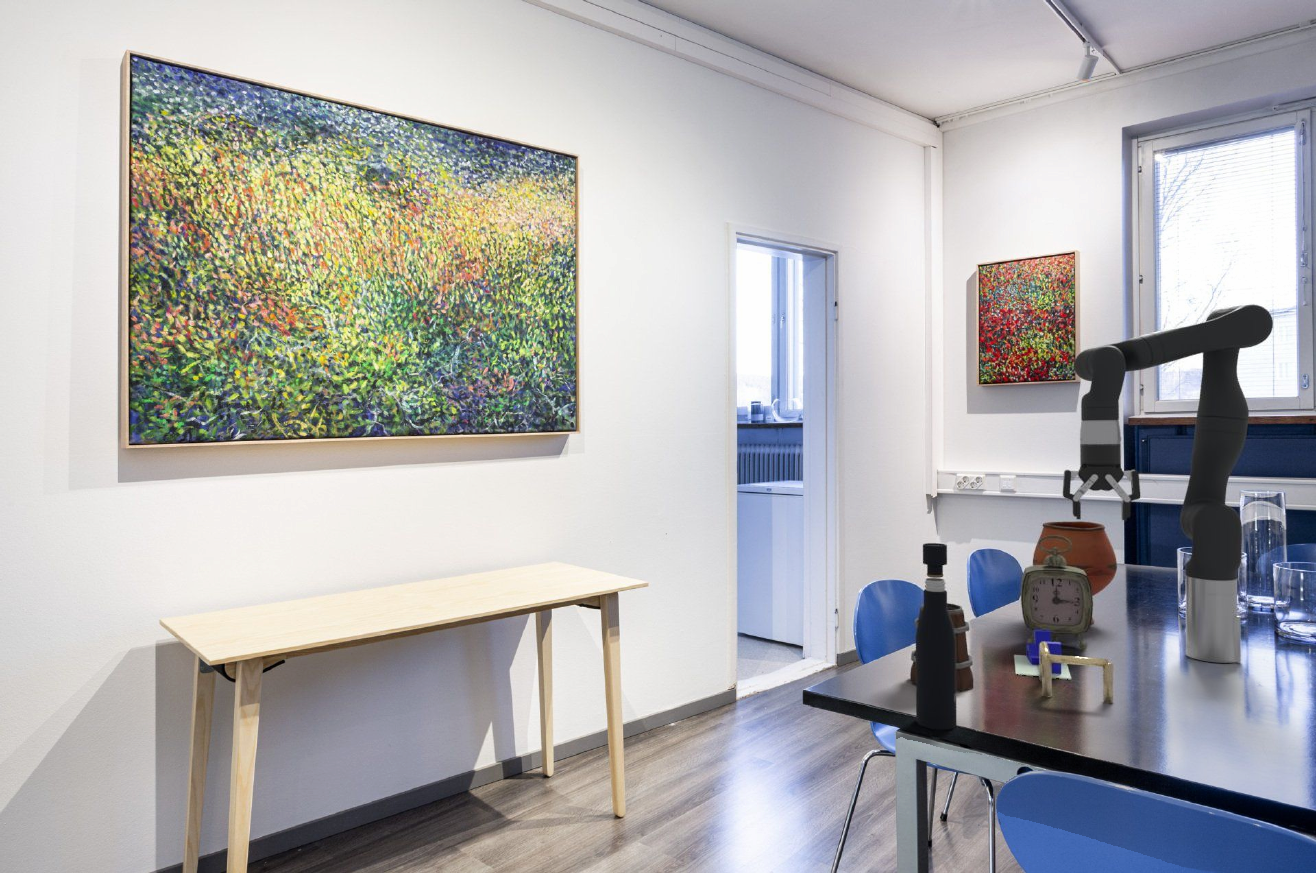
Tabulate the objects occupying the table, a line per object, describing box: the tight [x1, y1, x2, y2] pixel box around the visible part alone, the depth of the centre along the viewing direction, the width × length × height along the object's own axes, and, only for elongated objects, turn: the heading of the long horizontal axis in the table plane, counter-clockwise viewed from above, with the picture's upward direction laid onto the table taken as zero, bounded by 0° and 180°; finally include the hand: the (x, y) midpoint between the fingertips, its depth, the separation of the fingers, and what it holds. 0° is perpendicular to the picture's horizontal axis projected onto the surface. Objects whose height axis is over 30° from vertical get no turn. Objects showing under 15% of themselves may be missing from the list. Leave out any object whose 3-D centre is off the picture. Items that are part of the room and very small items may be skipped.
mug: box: [909, 602, 974, 692], centre depth 164 cm, size 16×12×15 cm
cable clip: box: [1026, 629, 1062, 674], centre depth 173 cm, size 12×4×6 cm, turn 165°
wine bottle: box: [915, 542, 958, 731], centre depth 140 cm, size 6×6×30 cm
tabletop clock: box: [1020, 535, 1094, 650], centre depth 190 cm, size 14×9×25 cm, turn 68°
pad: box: [1013, 654, 1072, 681], centre depth 172 cm, size 10×15×1 cm, turn 158°
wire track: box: [1038, 641, 1114, 704], centre depth 157 cm, size 12×12×8 cm
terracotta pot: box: [1032, 520, 1118, 625], centre depth 213 cm, size 19×19×25 cm
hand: (1101, 519), depth 175 cm, fingers open, 8 cm apart
